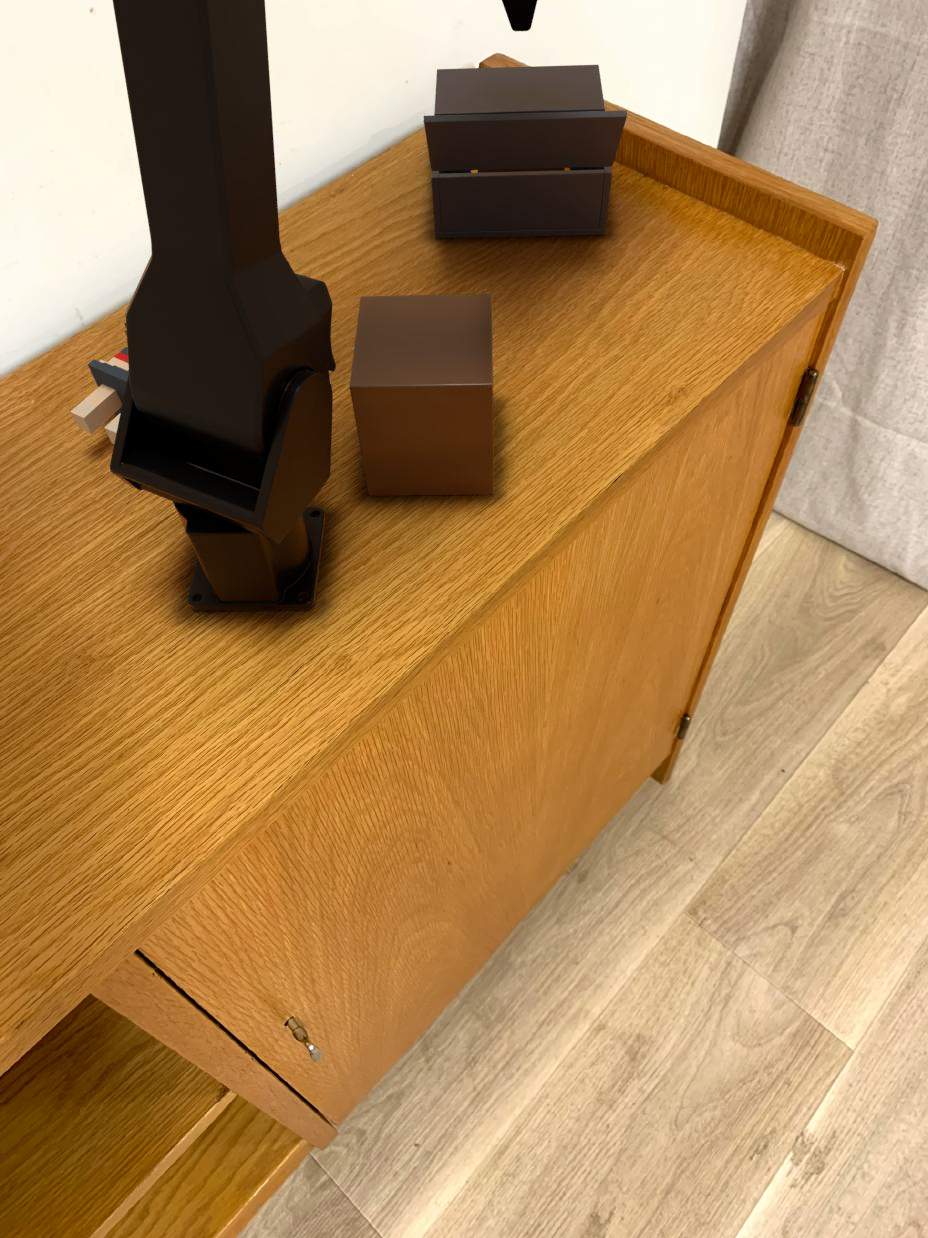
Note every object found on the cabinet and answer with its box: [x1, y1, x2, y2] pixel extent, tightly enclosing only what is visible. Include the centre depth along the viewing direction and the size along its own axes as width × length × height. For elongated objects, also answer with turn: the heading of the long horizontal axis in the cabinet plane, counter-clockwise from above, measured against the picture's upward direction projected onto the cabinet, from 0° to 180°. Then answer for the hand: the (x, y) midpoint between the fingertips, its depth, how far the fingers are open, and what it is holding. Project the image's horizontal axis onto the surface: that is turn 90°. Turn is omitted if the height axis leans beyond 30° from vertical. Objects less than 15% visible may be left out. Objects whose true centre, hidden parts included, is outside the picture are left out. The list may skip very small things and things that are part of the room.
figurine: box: [70, 322, 129, 445], centre depth 54 cm, size 9×4×15 cm
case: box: [430, 64, 613, 239], centre depth 64 cm, size 13×12×5 cm
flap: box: [423, 109, 628, 172], centre depth 55 cm, size 6×12×1 cm
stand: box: [348, 293, 495, 497], centre depth 48 cm, size 7×7×8 cm
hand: (521, 28), depth 53 cm, fingers closed
